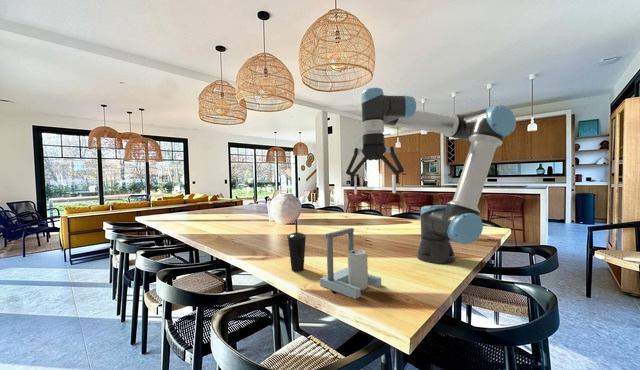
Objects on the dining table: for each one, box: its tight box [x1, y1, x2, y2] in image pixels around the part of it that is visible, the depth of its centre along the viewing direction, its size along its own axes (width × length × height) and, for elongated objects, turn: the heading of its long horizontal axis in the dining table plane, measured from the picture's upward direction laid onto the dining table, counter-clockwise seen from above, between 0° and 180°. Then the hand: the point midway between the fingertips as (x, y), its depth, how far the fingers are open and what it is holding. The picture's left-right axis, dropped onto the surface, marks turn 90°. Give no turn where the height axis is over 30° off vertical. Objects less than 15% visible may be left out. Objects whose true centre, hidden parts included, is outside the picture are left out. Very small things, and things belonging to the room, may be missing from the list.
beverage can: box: [347, 249, 369, 292], centre depth 90 cm, size 6×6×12 cm
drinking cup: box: [286, 219, 307, 272], centre depth 109 cm, size 8×8×20 cm
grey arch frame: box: [319, 227, 382, 300], centre depth 92 cm, size 15×14×18 cm
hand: (374, 193), depth 98 cm, fingers open, 13 cm apart
